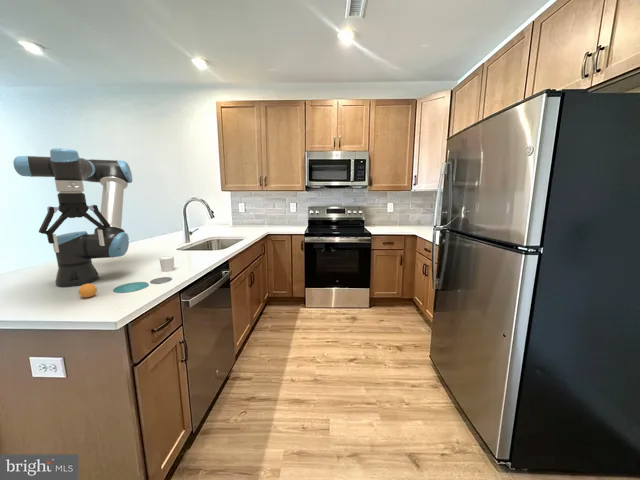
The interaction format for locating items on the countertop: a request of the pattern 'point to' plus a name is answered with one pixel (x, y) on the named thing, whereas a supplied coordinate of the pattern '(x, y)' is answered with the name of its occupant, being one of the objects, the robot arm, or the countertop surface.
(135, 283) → the disc
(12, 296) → the countertop surface
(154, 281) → the disc
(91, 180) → the robot arm
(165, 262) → the shot glass
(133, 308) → the countertop surface
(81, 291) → the ball
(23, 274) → the countertop surface
